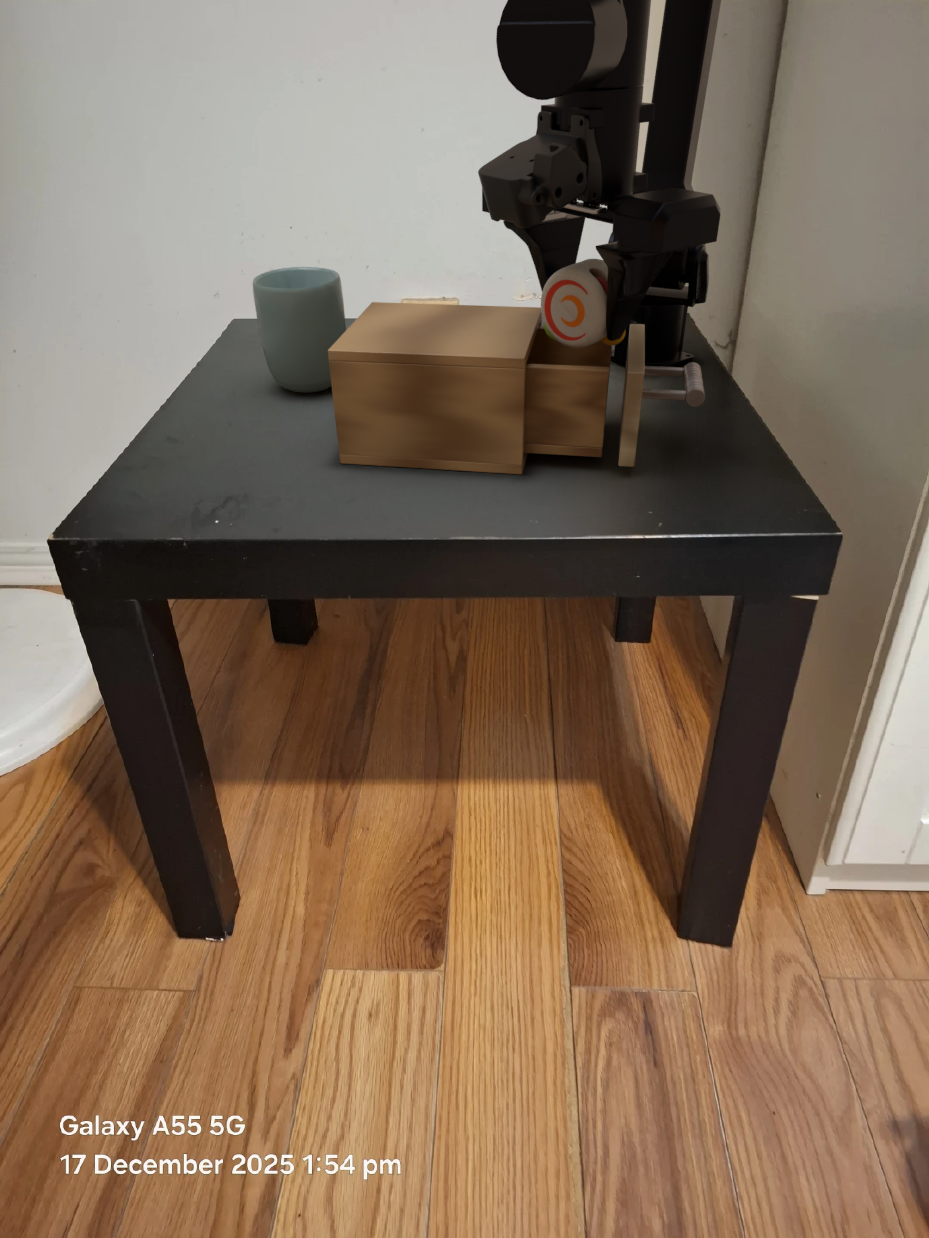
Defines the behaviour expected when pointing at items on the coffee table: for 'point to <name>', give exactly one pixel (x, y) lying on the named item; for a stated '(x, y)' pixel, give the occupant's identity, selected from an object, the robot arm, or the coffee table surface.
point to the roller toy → (577, 304)
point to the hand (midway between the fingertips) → (583, 328)
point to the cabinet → (433, 386)
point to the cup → (299, 324)
